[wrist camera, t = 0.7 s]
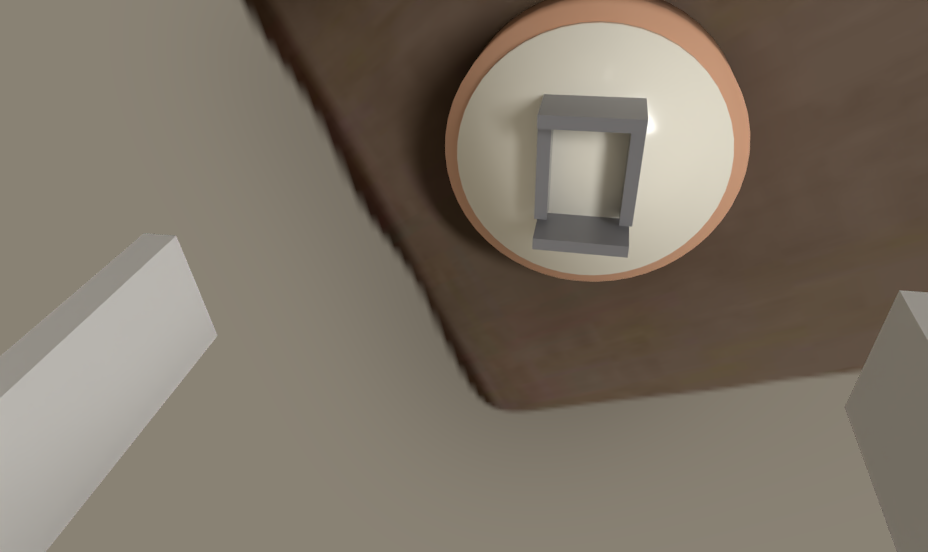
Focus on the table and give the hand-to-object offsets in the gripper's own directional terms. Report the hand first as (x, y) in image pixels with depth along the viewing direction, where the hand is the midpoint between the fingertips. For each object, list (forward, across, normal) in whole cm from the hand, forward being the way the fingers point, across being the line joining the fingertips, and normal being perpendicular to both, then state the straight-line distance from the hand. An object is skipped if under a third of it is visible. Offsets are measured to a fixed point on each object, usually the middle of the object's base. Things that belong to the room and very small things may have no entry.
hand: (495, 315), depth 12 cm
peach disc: (+21, +1, -6) cm, 22 cm away
